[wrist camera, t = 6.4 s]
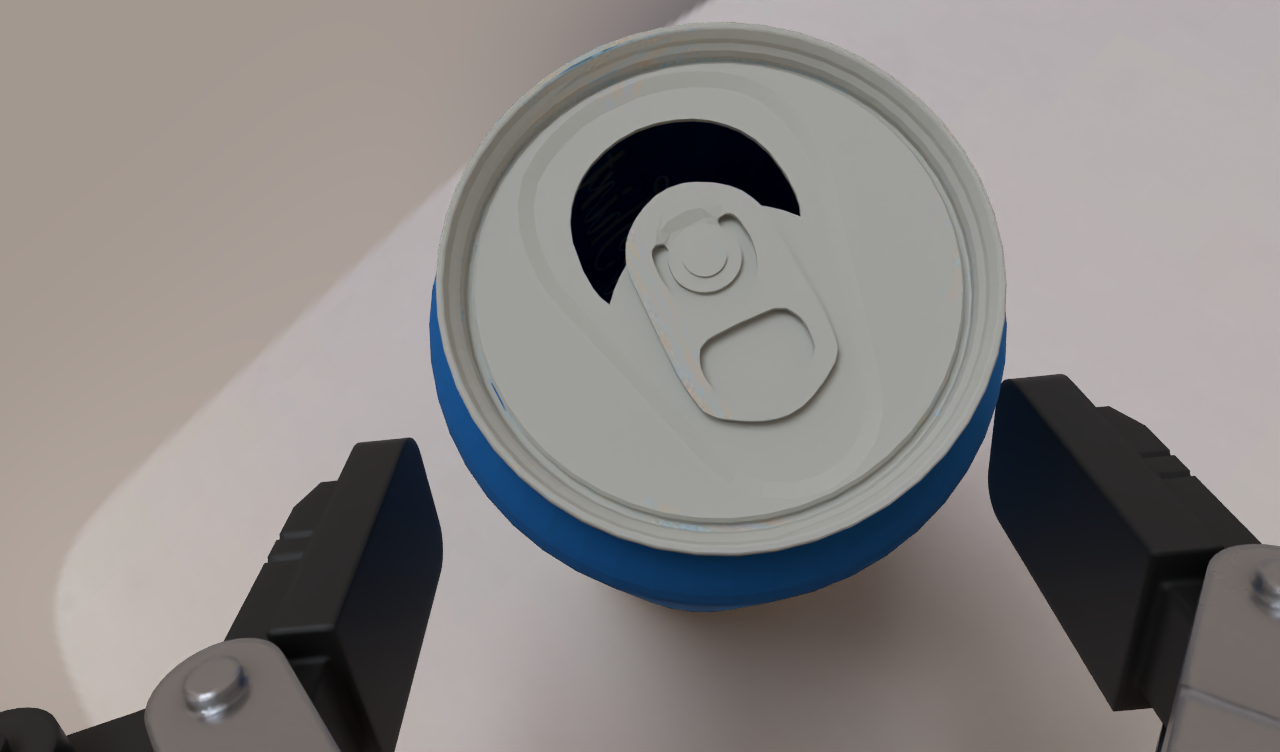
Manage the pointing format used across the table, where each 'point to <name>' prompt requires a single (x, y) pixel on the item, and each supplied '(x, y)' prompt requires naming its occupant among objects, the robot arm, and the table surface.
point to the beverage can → (719, 314)
